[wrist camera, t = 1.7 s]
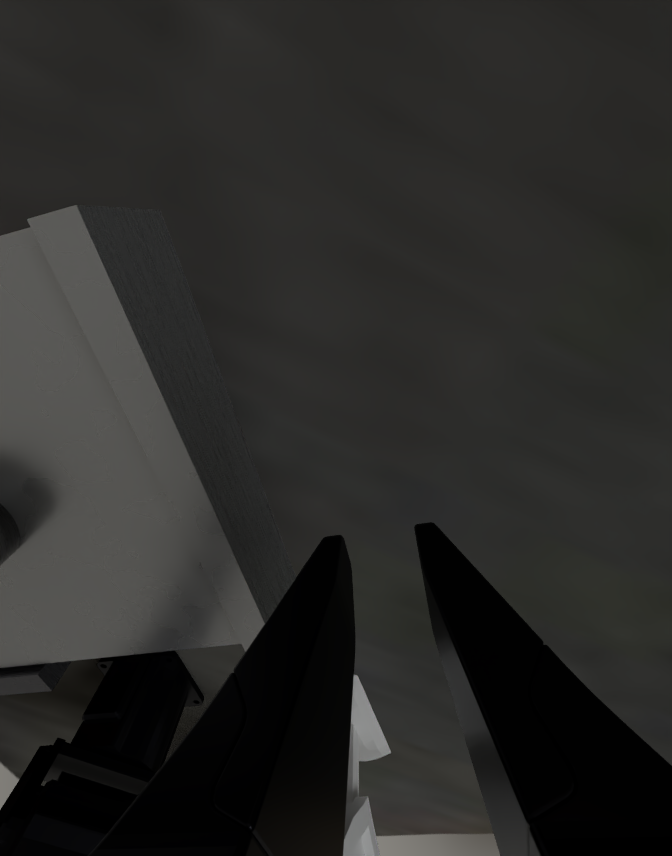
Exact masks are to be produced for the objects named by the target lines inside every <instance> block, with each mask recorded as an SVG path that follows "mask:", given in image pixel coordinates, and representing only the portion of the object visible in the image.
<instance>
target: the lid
mask: <svg viewBox="0 0 672 856" xmlns="http://www.w3.org/2000/svg"><path fill="white" fill-rule="evenodd" d="M27 221H28V223H29V225H30V228H26V229H23V230H19V231H16V232H12V233H9V234H5V235H1V236H0V668H5V667H15V666H25V665H35V664H45V663H55V662H65V661H75V660H85V659H95V658H105V657H115V656H124V655H134V654H144V653H154V652H164V651H174V650H184V649H194V648H204V647H214V646H224V645H234V644H242V646H243V648H244V650H245V652H246V651H247V649H248V648H249V646H250V645H251V643H252V642H253V640H254V639H255V637H256V636H257V634H258V633H259V632H260V630H261V629H262V627H263V626H264V624H265V623H266V621H267V620H268V618H269V617H270V615H271V614H272V612H273V611H274V609H275V608H276V607H277V605H278V604H279V602H280V601H281V599H282V598H283V596H284V595H285V593H286V592H287V590H288V589H289V587H290V586H291V585H292V583H293V582H294V580H295V579H296V575H295V573H294V570H293V567H292V565H291V562H290V559H289V557H288V554H287V551H286V548H285V546H284V543H283V540H282V538H281V535H280V532H279V529H278V527H277V524H276V521H275V519H274V516H273V513H272V511H271V508H270V505H269V502H268V500H267V497H266V494H265V492H264V489H263V486H262V484H261V481H260V478H259V475H258V473H257V470H256V467H255V465H254V462H253V459H252V456H251V454H250V451H249V448H248V446H247V443H246V440H245V438H244V435H243V432H242V429H241V427H240V424H239V421H238V419H237V416H236V413H235V411H234V408H233V405H232V402H231V400H230V397H229V394H228V392H227V389H226V386H225V383H224V381H223V378H222V375H221V373H220V370H219V367H218V365H217V362H216V359H215V356H214V354H213V351H212V348H211V346H210V343H209V340H208V337H207V335H206V332H205V329H204V327H203V324H202V321H201V319H200V316H199V313H198V310H197V308H196V305H195V302H194V300H193V297H192V294H191V292H190V289H189V286H188V283H187V281H186V278H185V275H184V273H183V270H182V267H181V264H180V262H179V259H178V256H177V254H176V251H175V248H174V246H173V243H172V240H171V237H170V235H169V232H168V229H167V227H166V224H165V221H164V219H163V216H162V213H161V210H151V209H134V208H117V207H101V206H84V205H75V206H71V207H68V208H64V209H61V210H57V211H54V212H50V213H47V214H43V215H40V216H36V217H33V218H29V219H27Z"/></svg>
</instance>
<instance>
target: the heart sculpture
mask: <svg viewBox="0 0 672 856" xmlns="http://www.w3.org/2000/svg"><path fill="white" fill-rule="evenodd" d="M390 753H391V751H390V749H389V746H388V744H387V742H386V739H385V737H384V735H383V733H382V730H381V728H380V726H379V723H378V721H377V719H376V717H375V714H374V712H373V710H372V708H371V705H370V703H369V701H368V698H367V696H366V694H365V692H364V689H363V687H362V685H361V682H360V680H359V678H358V676H357V675H354V680H353V697H352V713H351V730H350V747H349V764H348V781H347V798H346V815H345V832H344V849H343V856H380V853H379V848H378V843H377V839H376V834H375V829H374V825H373V820H372V815H371V810H370V804H369V799H368V796H364V797H359V761H370V760H374V759H377V758H380V757H383V756H385V755H388V754H390Z"/></svg>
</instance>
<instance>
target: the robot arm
mask: <svg viewBox="0 0 672 856" xmlns="http://www.w3.org/2000/svg"><path fill="white" fill-rule="evenodd" d="M414 529H415V535H416V541H417V546H418V552H419V558H420V564H421V569H422V575H423V580H424V586H425V591H426V597H427V603H428V608H429V614H430V619H431V624H432V629H433V634H434V637H435V641H436V645H437V648H438V651H439V655H440V658H441V661H442V665H443V668H444V671H445V674H446V678H447V681H448V684H449V688H450V691H451V694H452V697H453V701H454V704H455V707H456V711H457V714H458V717H459V721H460V724H461V727H462V730H463V734H464V737H465V740H466V744H467V747H468V750H469V754H470V757H471V760H472V763H473V767H474V770H475V773H476V777H477V780H478V783H479V786H480V790H481V793H482V796H483V800H484V803H485V806H486V810H487V813H488V816H489V819H490V823H491V826H492V829H493V833H494V836H495V839H496V842H497V846H498V849H499V852H500V856H672V765H670V764H669V763H668V762H667V761H666V760H665V759H664V758H663V757H662V756H660V755H659V754H658V753H657V752H656V751H655V750H654V749H653V748H652V747H651V746H649V745H648V744H647V743H646V742H645V741H644V740H643V739H642V738H641V737H639V736H638V735H637V734H636V733H635V732H634V731H633V730H632V729H631V728H629V727H628V726H627V725H626V724H625V723H624V722H623V721H622V720H621V719H620V718H619V717H618V716H617V715H615V714H614V713H613V712H612V711H611V710H610V709H609V708H608V707H607V706H606V705H605V704H604V703H603V702H602V701H601V700H599V699H598V698H597V697H596V696H595V695H594V694H593V693H592V692H591V691H590V690H589V689H588V688H587V687H586V686H585V685H584V684H583V683H582V682H581V681H580V680H579V679H578V678H577V677H576V676H575V674H574V673H573V672H572V671H571V670H570V669H569V668H568V667H567V666H566V665H565V664H564V663H563V662H562V661H561V660H560V659H559V658H558V657H557V656H556V654H555V653H554V652H553V651H552V650H551V649H550V648H549V647H548V646H547V645H544V642H543V641H542V640H541V638H540V637H539V636H538V635H537V634H536V633H535V632H534V631H533V630H532V629H531V628H530V626H529V625H528V624H527V623H526V622H525V621H524V620H523V619H522V618H521V617H520V616H519V615H518V613H517V612H516V611H515V610H514V609H513V608H512V607H511V606H510V605H509V604H508V603H507V602H506V600H505V599H504V598H503V597H502V596H501V595H500V594H499V593H498V592H497V591H496V590H495V589H494V587H493V586H492V585H491V584H490V583H489V582H488V581H487V580H486V579H485V578H484V577H483V575H482V574H481V573H480V572H479V571H478V570H477V569H476V568H475V567H474V566H473V565H472V564H471V562H470V561H469V560H468V559H467V558H466V557H465V556H464V555H463V554H462V553H461V552H460V551H459V549H458V548H457V547H456V546H455V545H454V544H453V543H452V542H451V541H450V540H449V539H448V538H447V536H446V535H445V534H444V533H443V532H442V531H441V530H440V529H439V528H438V527H437V526H436V525H435V524H434V523H432V522H430V523H422V524H416V525H415V527H414ZM354 663H355V619H354V601H353V583H352V569H351V563H350V559H349V555H348V552H347V548H346V545H345V541H344V538H343V537H342V536H341V535H335V536H327V537H324V538H323V539H322V540H321V542H320V543H319V545H318V546H317V548H316V549H315V551H314V552H313V554H312V555H311V557H310V558H309V560H308V561H307V563H306V564H305V565H304V567H303V568H302V570H301V571H300V573H299V574H298V576H297V577H296V579H295V580H294V582H293V583H292V585H291V586H290V587H289V589H288V590H287V592H286V593H285V595H284V596H283V598H282V599H281V601H280V602H279V604H278V605H277V607H276V608H275V609H274V611H273V612H272V614H271V615H270V617H269V618H268V620H267V621H266V623H265V624H264V626H263V627H262V629H261V630H260V632H259V633H258V634H257V636H256V637H255V639H254V640H253V642H252V643H251V645H250V646H249V648H248V649H247V651H246V652H245V654H244V655H243V656H242V658H241V659H240V661H239V662H238V664H237V665H236V667H235V668H234V673H231V674H230V675H229V677H228V678H227V680H226V681H225V683H224V684H223V686H222V687H221V688H220V690H219V691H218V693H217V694H216V696H215V697H214V698H213V700H212V701H211V703H210V704H209V705H208V707H207V708H206V710H205V711H204V712H203V714H202V715H201V717H200V718H199V719H198V721H197V722H196V723H195V725H194V726H193V727H192V728H191V730H190V731H189V732H188V734H187V735H186V736H185V737H184V739H183V740H182V741H181V743H180V744H179V745H178V746H177V748H176V749H175V750H174V752H173V753H172V754H171V755H170V757H169V758H168V759H167V760H166V762H165V759H166V756H167V753H168V751H169V748H170V745H171V742H172V739H173V737H174V734H175V731H176V728H177V726H178V723H179V720H180V717H181V714H182V712H183V709H184V707H187V706H199V705H202V703H203V700H204V696H203V694H202V693H201V691H200V689H199V688H198V686H197V685H196V683H195V681H194V680H193V678H192V677H191V675H190V673H189V672H188V670H187V669H186V667H185V665H184V664H183V662H182V661H181V659H180V657H179V656H178V654H177V653H176V652H174V651H164V652H154V653H144V654H134V655H124V656H115V657H105V658H100V660H99V662H98V663H97V666H98V668H99V669H100V670H101V672H102V673H103V674H104V675H105V677H104V678H103V680H102V682H101V684H100V685H99V687H98V689H97V691H96V693H95V694H94V696H93V698H92V700H91V702H90V703H89V705H88V707H87V709H86V711H85V712H84V714H83V716H82V719H83V722H82V724H81V725H80V727H79V729H78V731H77V733H76V735H75V736H74V738H73V740H72V742H71V744H70V743H67V742H65V741H66V740H64V739H61V738H57V740H56V741H55V743H54V745H49V746H40V747H39V749H38V750H37V752H36V754H35V755H34V757H33V759H32V760H31V762H30V764H29V765H28V767H27V768H26V770H25V772H24V773H23V775H22V777H21V778H20V780H19V781H18V783H17V785H16V786H15V788H14V789H13V791H12V792H11V794H10V796H9V797H8V799H7V800H6V802H5V804H4V805H3V807H2V808H1V810H0V856H343V849H344V832H345V815H346V798H347V781H348V764H349V747H350V730H351V713H352V697H353V680H354ZM164 762H165V763H164ZM43 781H47V783H46V784H45V786H41V783H42V782H43Z"/></svg>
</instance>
